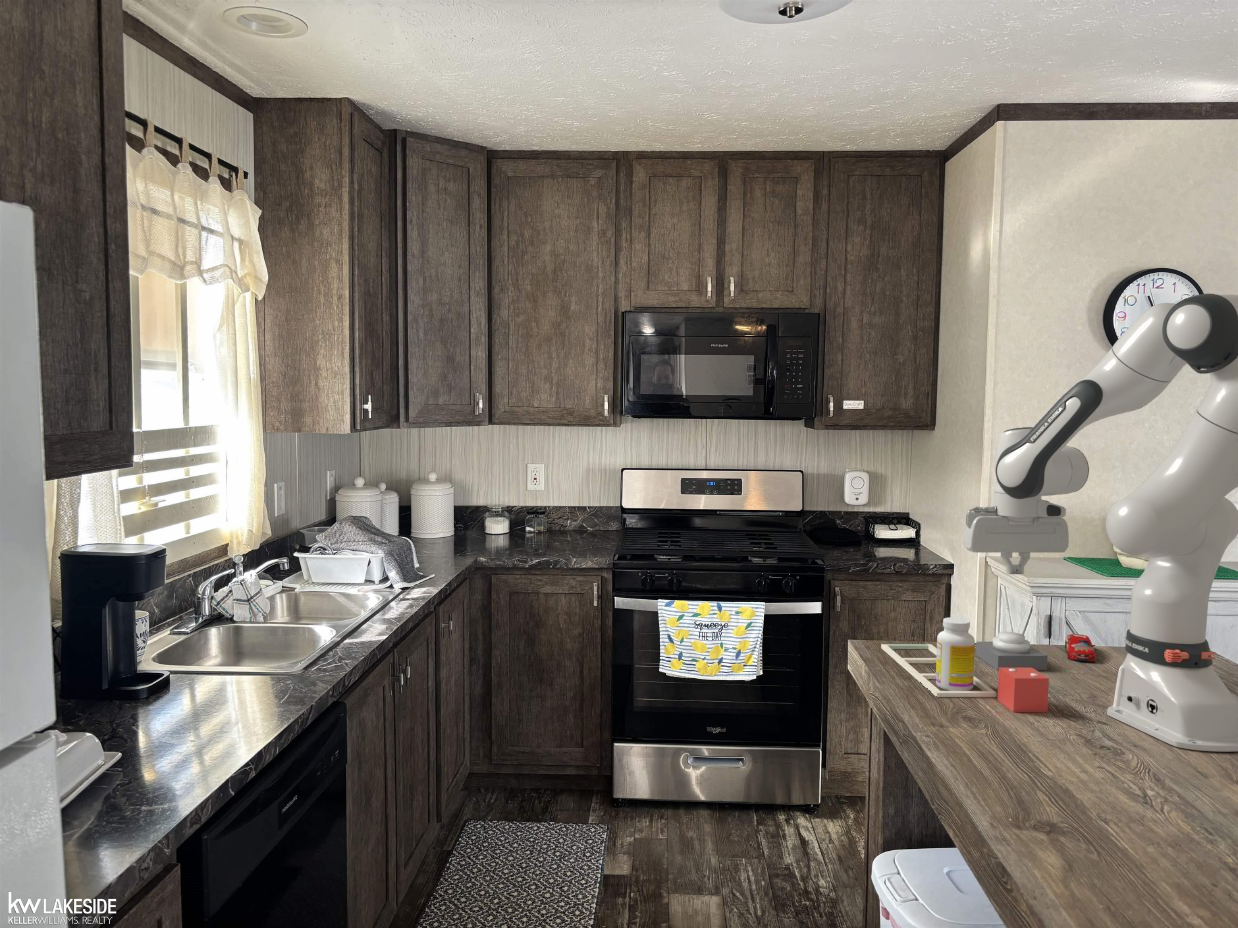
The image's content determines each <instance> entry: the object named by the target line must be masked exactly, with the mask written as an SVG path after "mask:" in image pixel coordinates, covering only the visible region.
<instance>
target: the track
mask: <svg viewBox="0 0 1238 928" xmlns="http://www.w3.org/2000/svg"><path fill="white" fill-rule="evenodd" d="M880 649H882V651H884V652H885V653H886V654H887V655H889V656H890V657H891V658H892V659H893V660H894V661H895V662H896V663H898V665H899V666H900V667H902V668H903V669H904V670H906V671H907V672H908V673H909V674H910V675H911V676H912V677H913V678H914V679H915V680H916V681H918V682H919V683H920V682H921V683H922V684H921V683H920V684H921V685H922V686H924V688H926V689H927V688H928V689H927V690H928V691H929V690H930V691H931V692H930V691H929V692H930V693H932V694H933V695H934V696H935V697H936V696H937V697H936V698H997V695H998V692H996V691H995V690H993V688H991V687H989V686H988V685H987V684H985V682H983V681H982V680H980V679H979V678H977V677H976V676H974V682H973V686H974V685H975V686H976V687H977V688H978V689H980V690H970V691H949V690H940V689H939V688H938V687H937V686H935V684H933V683H931V681H929V680H936V673H920V671H918V670H917V669H915V668H914V666H912V665H911V664H936V661H937V657H901V656H900V654H898V653H897V652H895V651H894V650H929V651H930V652H931V653H932V654H933V655H935V656H937V646H934V644H931V643H927V644H926V643H923V644H922V643H921V644H920V643H919V644H918V643H917V644H915V643H913V644H912V643H908V644H907V643H904V644H903V643H899V644H897V643H896V644H895V643H892V644H891V643H888V644H887V643H885V644H884V643H881V647H880Z"/></svg>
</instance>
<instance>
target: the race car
mask: <svg viewBox="0 0 1238 928" xmlns="http://www.w3.org/2000/svg"><path fill="white" fill-rule="evenodd" d="M1064 643H1065V644H1064V648H1065V651H1066V655H1067V659H1068V660H1073V661H1081V662H1092V663H1095V662H1096V656H1097V654H1096V651H1095V648H1094V647H1096V645H1095V644H1093V643H1092V641H1091V639H1090V637H1089V636H1088V635H1084V634H1077V633H1070V634H1067V636H1066V638H1065V642H1064Z"/></svg>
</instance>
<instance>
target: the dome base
mask: <svg viewBox="0 0 1238 928" xmlns="http://www.w3.org/2000/svg"><path fill="white" fill-rule="evenodd" d="M975 645H976V646H975V656H976V657H978V658H979V659H981V660H982V661H983V662H984V663H986V664H988V665H990V666H991V667H992V668H994V669H995V670H997V671H999V668H1033V669H1035V670H1036V671H1047V670H1048V655H1047V654H1045V653H1043V651H1040V650H1039V649H1037V648H1035V647H1034V646H1031V645H1030V651H1029V652H1027V653H1008V652H1003V651H999V650H997V649H995V648H993V641H975Z"/></svg>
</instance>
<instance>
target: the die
mask: <svg viewBox="0 0 1238 928" xmlns="http://www.w3.org/2000/svg"><path fill="white" fill-rule="evenodd" d="M997 676H998V677H997V678H998V681H997V701H998V702H999V703H1001V704H1002V705H1004V706H1005V707H1006V708H1007V709H1008V710H1010V711H1011V712H1013V713H1048V707H1049V706H1048V705H1049V703H1048V702H1049V686H1050V685H1049V684H1050V682H1049V681H1050V678H1049V677H1047V676H1046V675H1044V674H1042V673H1041V672H1040V671H1039V670H1035V669H1033V668H999V670H998V675H997Z"/></svg>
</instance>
